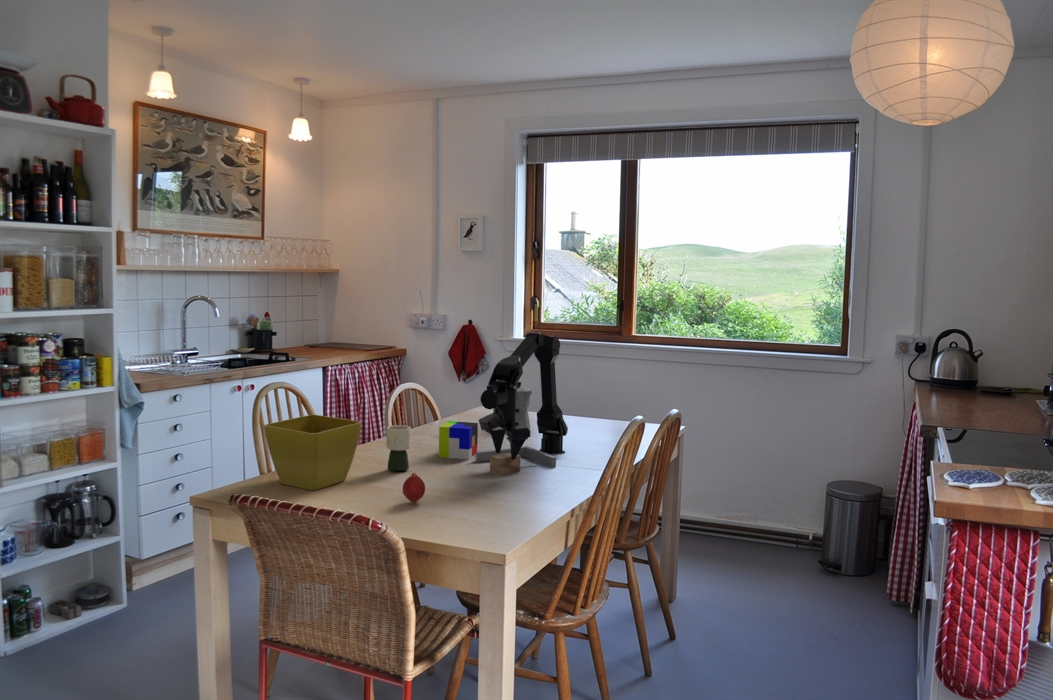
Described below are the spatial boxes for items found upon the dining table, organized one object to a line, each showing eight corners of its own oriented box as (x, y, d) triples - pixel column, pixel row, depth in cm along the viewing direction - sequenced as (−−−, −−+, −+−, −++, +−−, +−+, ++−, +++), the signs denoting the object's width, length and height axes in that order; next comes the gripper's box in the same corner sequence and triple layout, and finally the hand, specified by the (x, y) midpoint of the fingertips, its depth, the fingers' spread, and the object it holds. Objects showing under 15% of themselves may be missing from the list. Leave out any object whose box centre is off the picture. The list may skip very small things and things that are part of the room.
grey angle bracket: (526, 455, 256) (527, 446, 256) (555, 466, 242) (556, 457, 241) (475, 461, 246) (475, 451, 246) (502, 473, 232) (502, 463, 231)
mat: (519, 458, 250) (519, 458, 250) (536, 465, 242) (536, 465, 242) (500, 461, 247) (500, 460, 247) (516, 468, 238) (516, 467, 238)
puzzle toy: (468, 459, 248) (469, 428, 247) (438, 457, 250) (439, 426, 249) (477, 452, 258) (477, 423, 257) (448, 450, 260) (448, 421, 259)
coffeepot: (538, 429, 298) (540, 382, 296) (521, 432, 291) (522, 384, 290) (511, 423, 309) (512, 378, 307) (493, 426, 302) (494, 379, 301)
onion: (403, 499, 203) (403, 469, 202) (425, 499, 204) (426, 469, 203) (401, 506, 197) (401, 475, 196) (424, 506, 198) (425, 475, 197)
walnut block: (511, 468, 238) (512, 452, 238) (520, 472, 235) (520, 455, 234) (489, 472, 234) (490, 455, 233) (497, 475, 230) (498, 458, 230)
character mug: (393, 465, 238) (394, 423, 237) (415, 467, 237) (416, 424, 235) (379, 474, 228) (380, 430, 226) (402, 476, 226) (403, 431, 225)
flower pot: (313, 496, 204) (313, 433, 202) (262, 484, 213) (261, 424, 211) (362, 480, 220) (363, 421, 219) (312, 470, 230) (312, 414, 228)
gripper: (468, 401, 236) (467, 452, 238) (498, 411, 220) (497, 466, 222) (500, 399, 242) (498, 448, 243) (532, 409, 226) (530, 461, 228)
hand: (505, 456), depth 234 cm, fingers open, 9 cm apart
